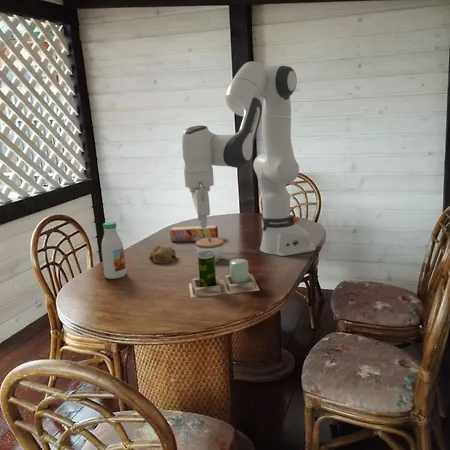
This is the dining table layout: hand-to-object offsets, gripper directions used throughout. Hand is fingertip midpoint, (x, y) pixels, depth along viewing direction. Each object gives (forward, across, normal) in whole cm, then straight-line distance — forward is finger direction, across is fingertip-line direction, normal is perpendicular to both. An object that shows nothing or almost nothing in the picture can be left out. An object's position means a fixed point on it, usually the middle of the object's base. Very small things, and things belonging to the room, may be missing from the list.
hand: (202, 223), depth 149 cm
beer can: (+22, 0, 0) cm, 22 cm away
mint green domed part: (+22, 0, -11) cm, 24 cm away
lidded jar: (+23, +31, -4) cm, 39 cm away
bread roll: (+23, +37, +14) cm, 46 cm away
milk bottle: (+23, +24, +32) cm, 46 cm away
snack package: (+24, +60, 0) cm, 65 cm away
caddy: (+23, 0, -5) cm, 24 cm away
